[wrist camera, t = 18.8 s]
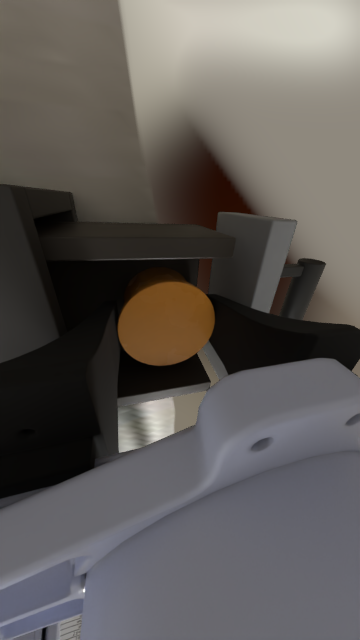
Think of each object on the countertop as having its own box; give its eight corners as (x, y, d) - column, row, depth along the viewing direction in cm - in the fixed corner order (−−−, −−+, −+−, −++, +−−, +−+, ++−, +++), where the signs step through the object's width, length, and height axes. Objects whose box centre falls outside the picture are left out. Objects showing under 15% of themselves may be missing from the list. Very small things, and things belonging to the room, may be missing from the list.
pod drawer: (293, 214, 13) (377, 222, 9) (256, 339, 19) (297, 382, 14) (-3, 203, 9) (-111, 207, 5) (57, 365, 15) (30, 435, 10)
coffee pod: (208, 301, 14) (231, 327, 11) (155, 344, 15) (163, 378, 12) (163, 242, 11) (177, 258, 8) (100, 299, 12) (93, 330, 9)
